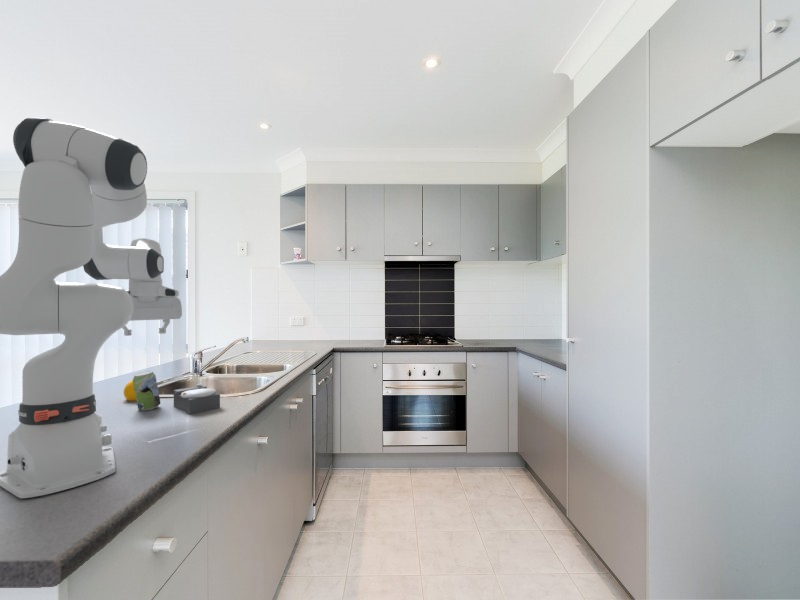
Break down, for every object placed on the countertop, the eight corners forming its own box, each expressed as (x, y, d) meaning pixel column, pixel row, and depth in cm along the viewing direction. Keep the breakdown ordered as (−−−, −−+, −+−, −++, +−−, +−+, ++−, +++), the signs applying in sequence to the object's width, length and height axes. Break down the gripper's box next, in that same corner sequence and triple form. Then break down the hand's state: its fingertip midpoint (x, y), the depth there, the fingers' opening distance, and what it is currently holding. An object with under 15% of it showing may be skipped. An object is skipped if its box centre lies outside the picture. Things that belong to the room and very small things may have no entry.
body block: (220, 407, 120) (220, 388, 120) (188, 414, 112) (188, 393, 112) (203, 401, 128) (203, 382, 128) (172, 407, 121) (172, 387, 121)
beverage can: (164, 408, 120) (164, 371, 120) (138, 414, 113) (138, 374, 113) (154, 405, 123) (154, 369, 123) (129, 411, 117) (129, 372, 117)
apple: (121, 404, 124) (122, 382, 124) (125, 399, 131) (125, 378, 131) (150, 401, 128) (150, 379, 129) (152, 396, 135) (152, 375, 135)
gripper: (107, 290, 108) (107, 337, 108) (184, 291, 124) (183, 332, 124) (102, 290, 112) (102, 336, 112) (176, 291, 128) (176, 331, 128)
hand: (145, 334), depth 118 cm, fingers open, 8 cm apart
